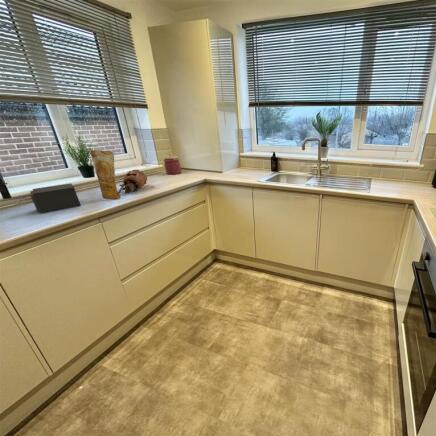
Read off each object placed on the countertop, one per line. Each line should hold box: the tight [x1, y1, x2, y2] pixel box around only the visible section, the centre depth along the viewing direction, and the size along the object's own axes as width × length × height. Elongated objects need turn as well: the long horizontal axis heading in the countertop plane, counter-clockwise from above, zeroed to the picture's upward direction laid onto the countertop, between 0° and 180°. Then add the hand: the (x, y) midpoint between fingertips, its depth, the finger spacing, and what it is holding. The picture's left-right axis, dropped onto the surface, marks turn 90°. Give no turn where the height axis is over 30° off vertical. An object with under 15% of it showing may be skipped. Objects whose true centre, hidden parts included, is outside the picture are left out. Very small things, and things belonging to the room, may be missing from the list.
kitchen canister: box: [162, 152, 182, 176], centre depth 211 cm, size 13×13×18 cm
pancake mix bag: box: [89, 149, 121, 200], centre depth 143 cm, size 7×19×28 cm, turn 64°
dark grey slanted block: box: [32, 182, 82, 214], centre depth 131 cm, size 16×14×11 cm
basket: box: [15, 190, 42, 213], centre depth 127 cm, size 21×13×9 cm, turn 136°
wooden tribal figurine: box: [118, 169, 148, 195], centre depth 162 cm, size 15×15×25 cm
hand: (7, 198), depth 118 cm, fingers closed
